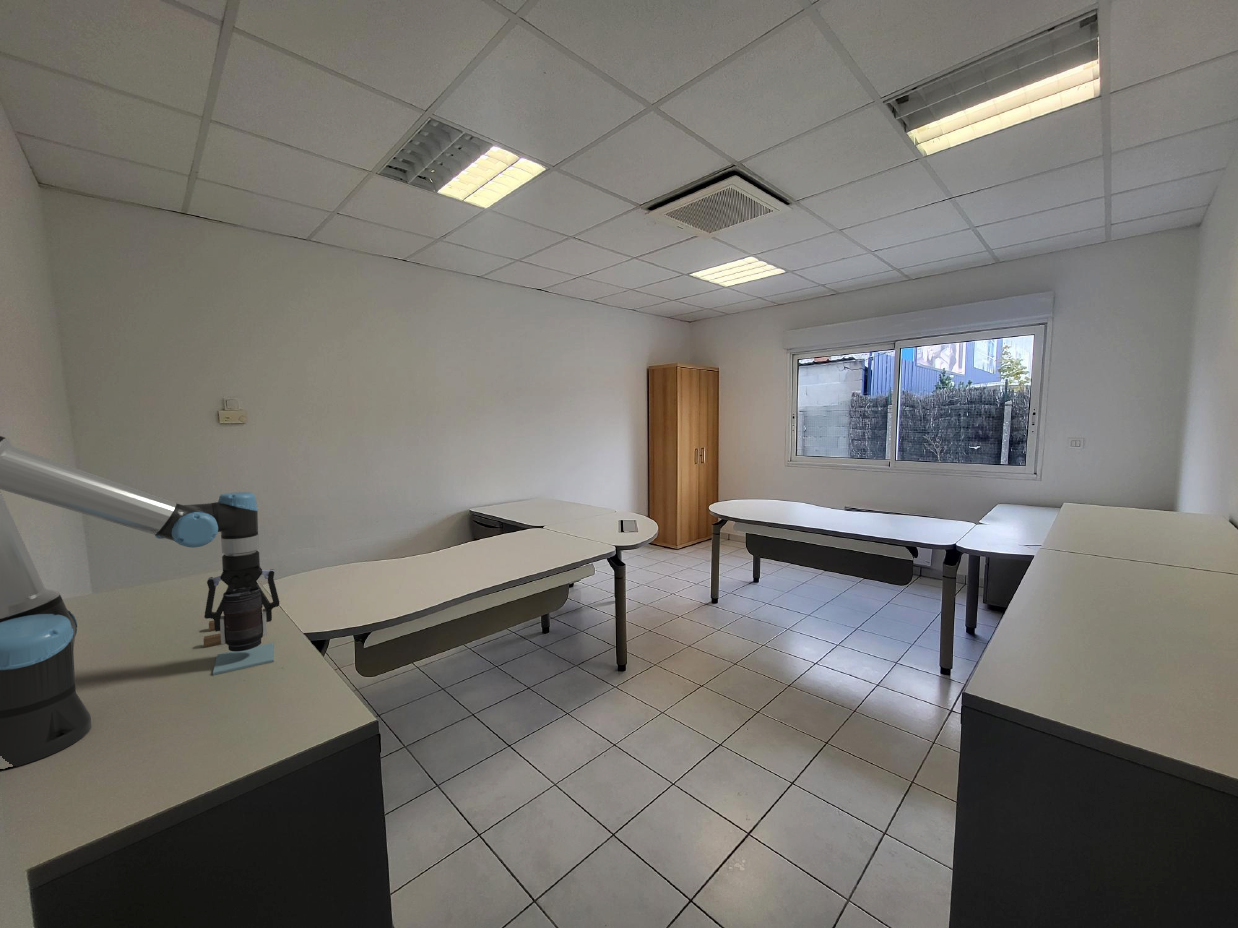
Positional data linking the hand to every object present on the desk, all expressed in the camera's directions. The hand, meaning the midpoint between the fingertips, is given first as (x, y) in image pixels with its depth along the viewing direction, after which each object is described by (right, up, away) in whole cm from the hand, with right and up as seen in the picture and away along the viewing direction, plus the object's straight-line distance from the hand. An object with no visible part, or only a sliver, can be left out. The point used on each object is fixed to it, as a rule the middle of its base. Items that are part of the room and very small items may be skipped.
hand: (244, 637), depth 123 cm
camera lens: (0, -2, 0) cm, 2 cm away
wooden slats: (-16, -5, +16) cm, 23 cm away
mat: (0, -6, 0) cm, 6 cm away
